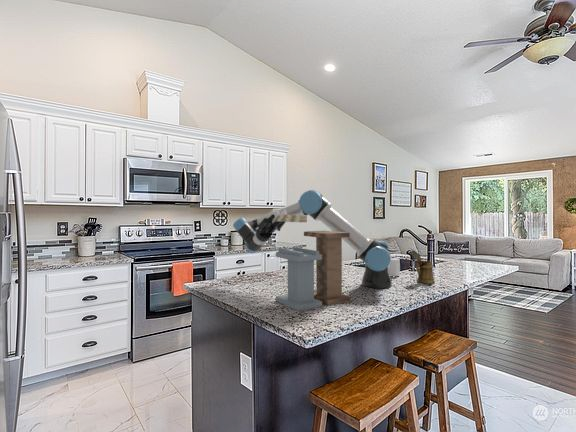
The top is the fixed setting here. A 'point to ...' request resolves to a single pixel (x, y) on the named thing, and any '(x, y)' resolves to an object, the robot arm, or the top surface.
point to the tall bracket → (329, 266)
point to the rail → (292, 218)
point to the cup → (394, 267)
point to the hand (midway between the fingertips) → (281, 212)
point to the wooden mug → (423, 269)
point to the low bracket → (300, 278)
